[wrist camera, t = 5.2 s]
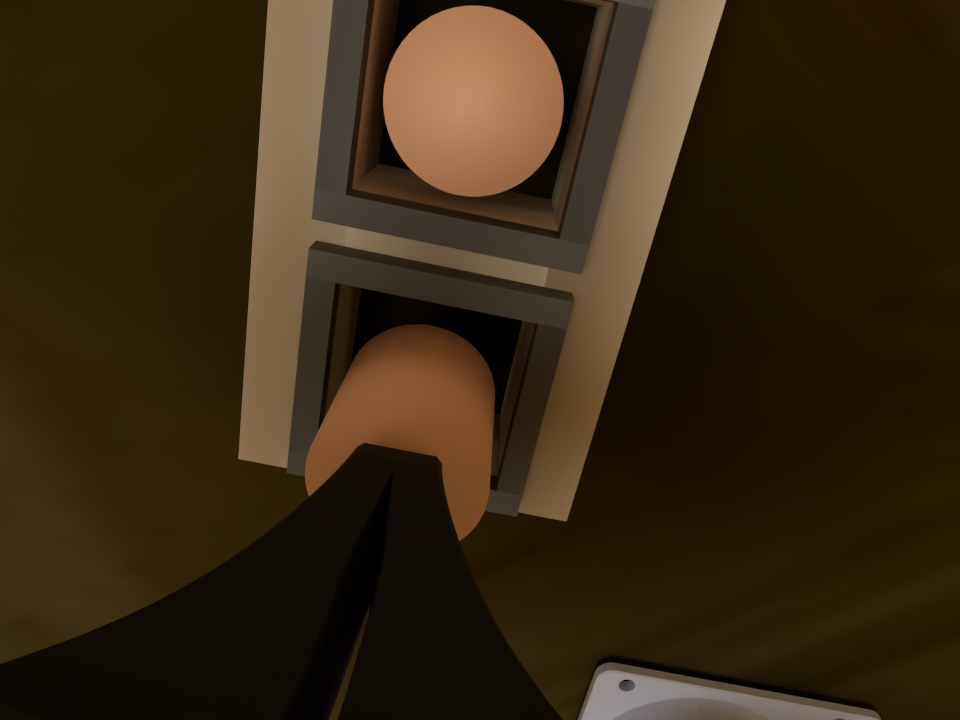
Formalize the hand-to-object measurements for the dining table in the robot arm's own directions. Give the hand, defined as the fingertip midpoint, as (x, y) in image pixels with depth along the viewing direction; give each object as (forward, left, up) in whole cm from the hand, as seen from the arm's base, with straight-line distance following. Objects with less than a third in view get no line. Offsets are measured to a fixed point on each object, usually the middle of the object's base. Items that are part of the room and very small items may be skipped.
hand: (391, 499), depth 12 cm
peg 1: (0, -6, -7) cm, 9 cm away
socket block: (0, -3, -8) cm, 8 cm away
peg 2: (0, 0, -4) cm, 4 cm away
